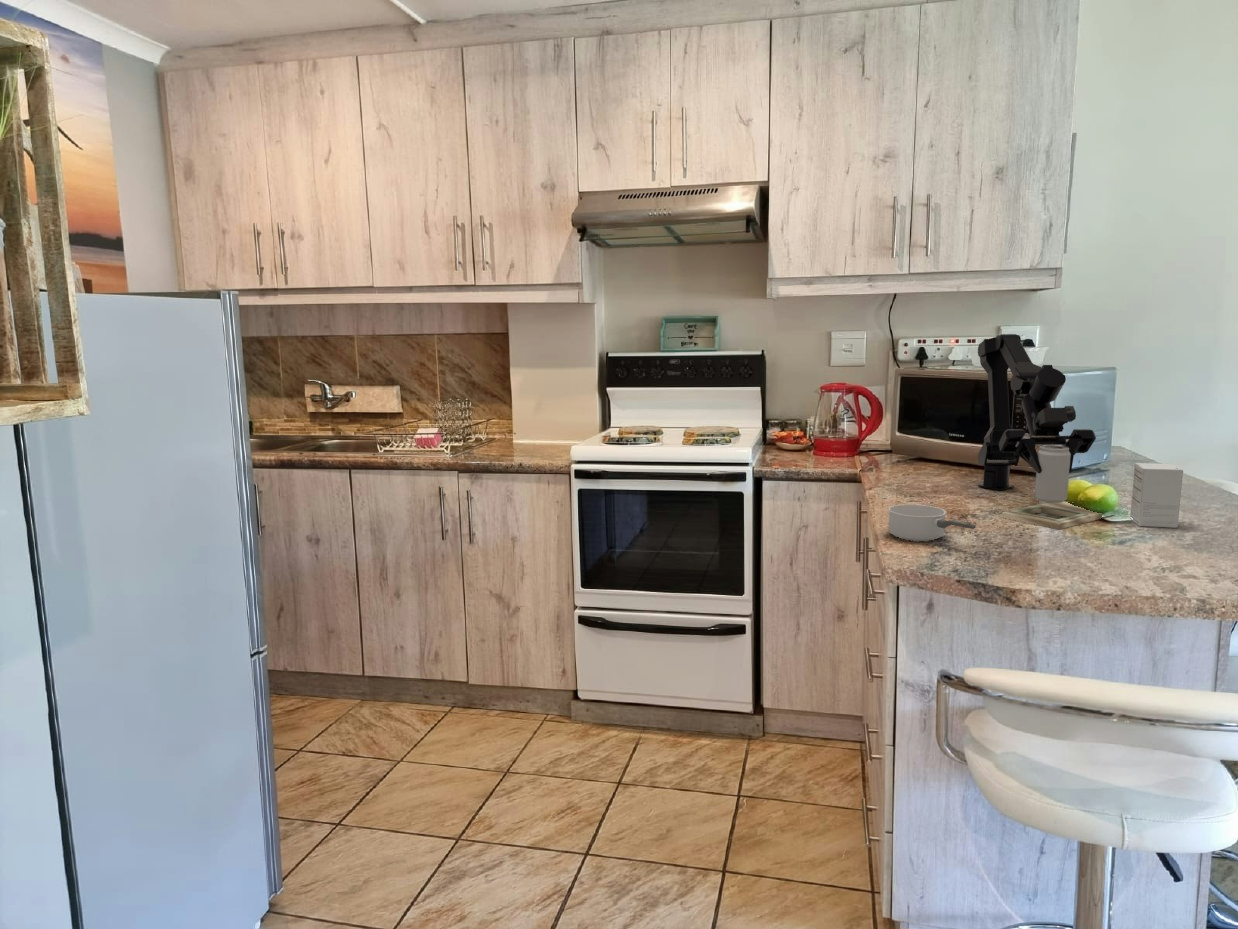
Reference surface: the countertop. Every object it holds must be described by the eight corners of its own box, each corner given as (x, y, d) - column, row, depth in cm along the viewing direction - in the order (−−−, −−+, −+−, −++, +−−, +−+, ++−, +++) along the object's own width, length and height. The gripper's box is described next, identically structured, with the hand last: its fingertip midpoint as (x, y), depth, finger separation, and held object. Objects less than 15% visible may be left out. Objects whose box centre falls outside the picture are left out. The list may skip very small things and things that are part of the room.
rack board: (1057, 505, 194) (1057, 499, 194) (1114, 515, 183) (1114, 509, 183) (1001, 517, 183) (1002, 511, 183) (1058, 529, 172) (1059, 523, 172)
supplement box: (1167, 520, 178) (1173, 463, 176) (1178, 528, 171) (1184, 469, 169) (1128, 518, 181) (1134, 462, 178) (1137, 526, 174) (1143, 467, 171)
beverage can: (1073, 502, 178) (1078, 448, 176) (1047, 504, 177) (1052, 449, 175) (1052, 496, 185) (1057, 444, 182) (1027, 498, 183) (1031, 445, 181)
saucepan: (949, 557, 154) (951, 528, 153) (874, 533, 172) (875, 507, 171) (993, 549, 158) (995, 521, 158) (915, 527, 176) (916, 502, 175)
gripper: (1006, 393, 182) (1021, 450, 173) (1096, 392, 179) (1115, 451, 171) (992, 423, 191) (1005, 479, 182) (1077, 423, 189) (1094, 480, 180)
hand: (1054, 472), depth 178 cm, fingers closed on beverage can, 6 cm apart
